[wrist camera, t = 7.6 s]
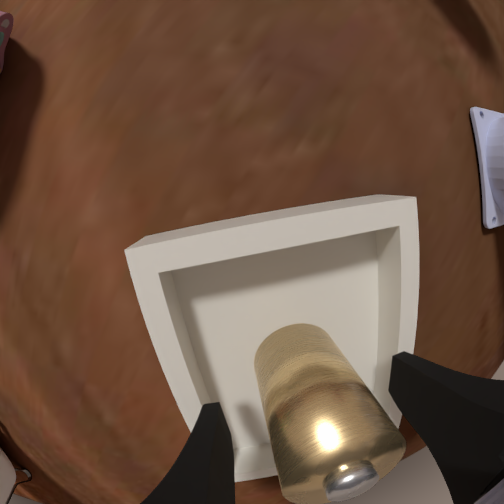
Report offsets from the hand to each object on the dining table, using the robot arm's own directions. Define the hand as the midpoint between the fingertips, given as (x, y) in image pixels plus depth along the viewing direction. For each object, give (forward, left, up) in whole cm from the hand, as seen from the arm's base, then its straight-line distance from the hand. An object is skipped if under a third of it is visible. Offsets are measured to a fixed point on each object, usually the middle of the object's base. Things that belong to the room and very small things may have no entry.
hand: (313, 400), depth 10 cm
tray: (0, 0, -4) cm, 4 cm away
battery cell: (0, 0, -3) cm, 3 cm away
